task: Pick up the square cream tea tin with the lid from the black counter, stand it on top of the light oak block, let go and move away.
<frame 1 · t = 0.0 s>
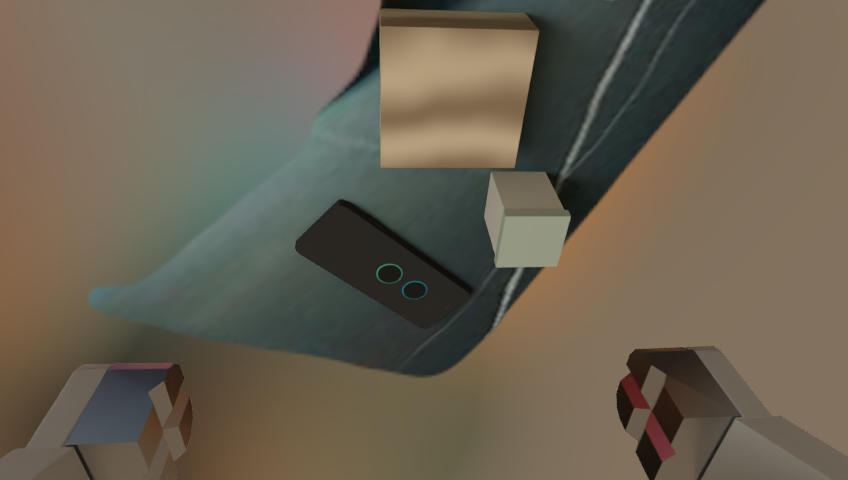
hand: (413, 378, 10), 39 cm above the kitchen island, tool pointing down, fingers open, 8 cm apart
oak block: (447, 80, 47), on the kitchen island
smart home device: (387, 263, 60), on the kitchen island
cream tea tin: (513, 194, 55), on the kitchen island
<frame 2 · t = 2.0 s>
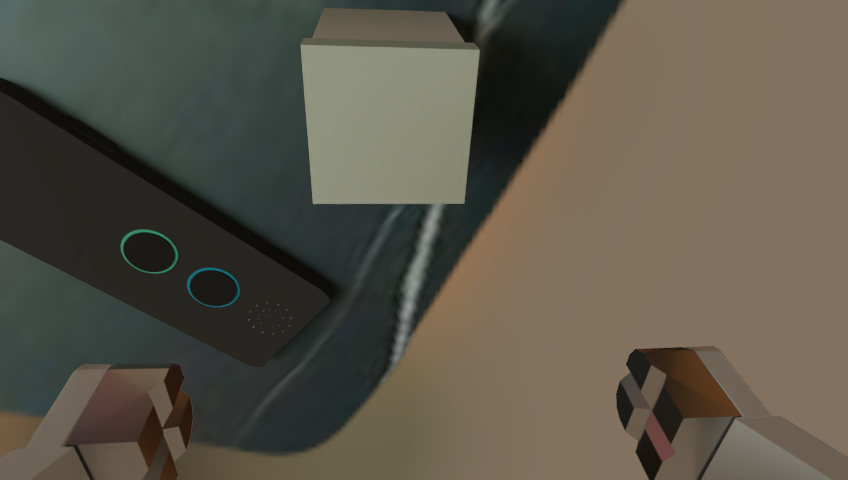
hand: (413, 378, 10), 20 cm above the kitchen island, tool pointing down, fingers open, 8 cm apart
smart home device: (157, 235, 31), on the kitchen island
cream tea tin: (385, 70, 26), on the kitchen island
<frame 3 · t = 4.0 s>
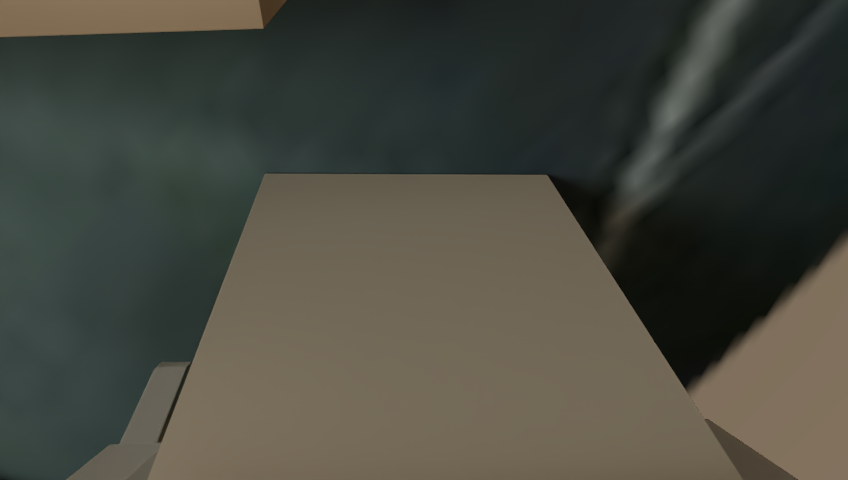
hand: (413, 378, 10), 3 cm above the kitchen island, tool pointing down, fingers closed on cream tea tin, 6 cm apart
cream tea tin: (405, 286, 12), on the kitchen island, touching gripper
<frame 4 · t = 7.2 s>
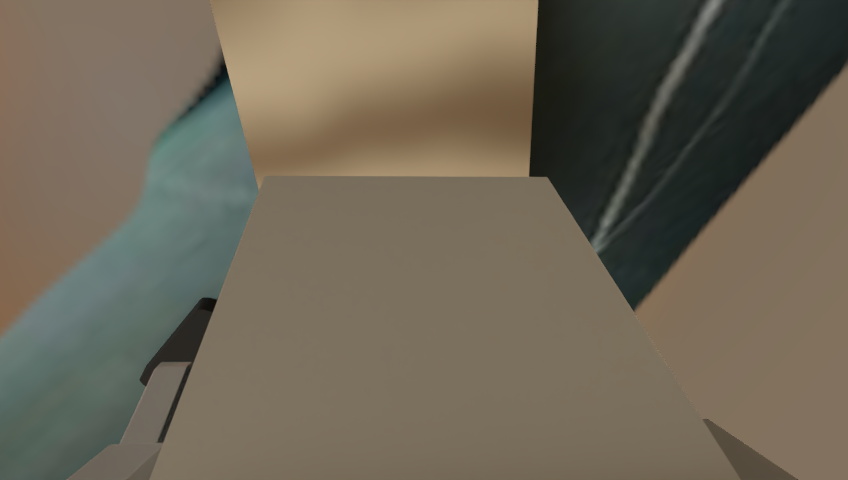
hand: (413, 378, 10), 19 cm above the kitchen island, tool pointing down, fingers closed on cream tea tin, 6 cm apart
oak block: (386, 82, 26), on the kitchen island
smart home device: (307, 389, 37), on the kitchen island
cream tea tin: (405, 288, 12), point 16 cm above the kitchen island, touching gripper
when the fingers open (8 cm above the kitchen island, at t = 10.4 s): cream tea tin drops 1 cm, point 5 cm above the kitchen island.
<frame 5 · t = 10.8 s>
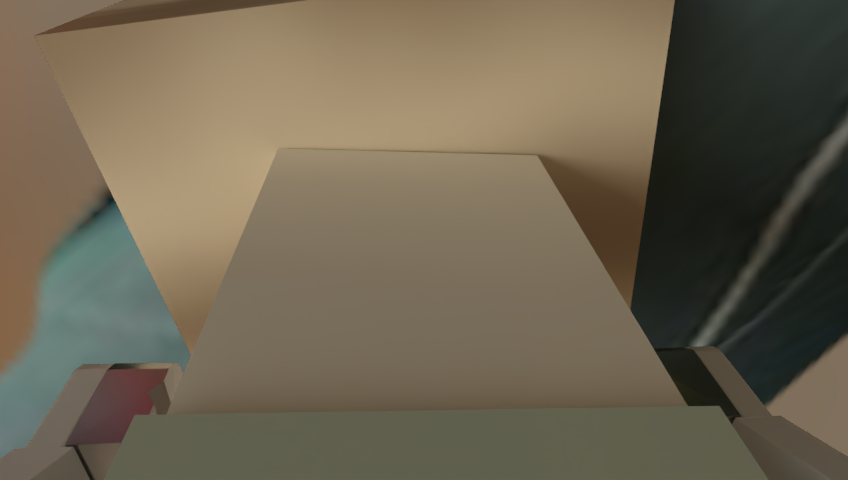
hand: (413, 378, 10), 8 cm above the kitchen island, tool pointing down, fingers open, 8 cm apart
oak block: (394, 170, 17), on the kitchen island
cream tea tin: (405, 258, 13), point 5 cm above the kitchen island
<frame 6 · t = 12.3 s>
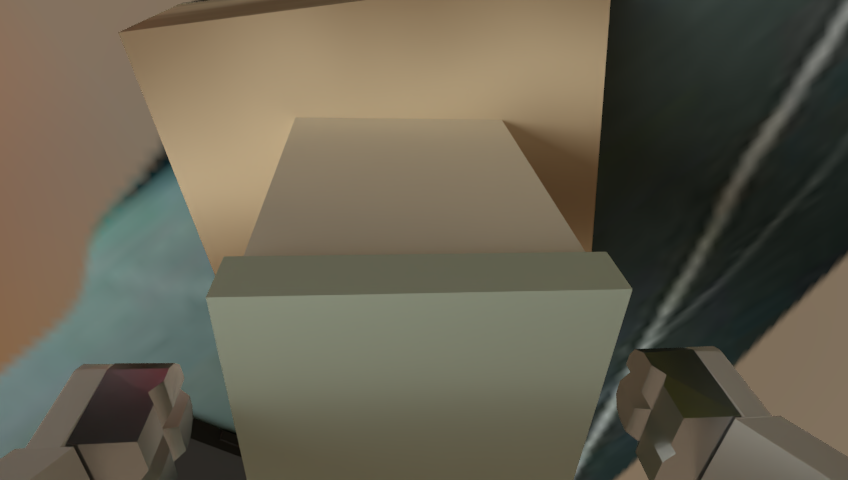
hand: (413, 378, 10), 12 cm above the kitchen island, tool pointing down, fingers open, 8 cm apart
oak block: (394, 151, 20), on the kitchen island
cream tea tin: (398, 209, 16), point 5 cm above the kitchen island
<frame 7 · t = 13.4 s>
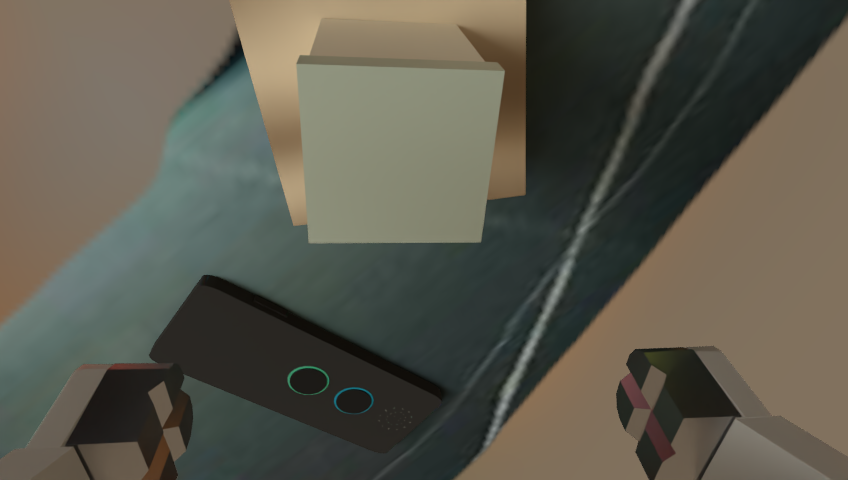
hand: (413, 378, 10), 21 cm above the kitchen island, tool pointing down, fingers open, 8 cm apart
oak block: (390, 66, 28), on the kitchen island, touching cream tea tin
smart home device: (308, 363, 39), on the kitchen island
cream tea tin: (388, 88, 23), point 5 cm above the kitchen island, touching oak block
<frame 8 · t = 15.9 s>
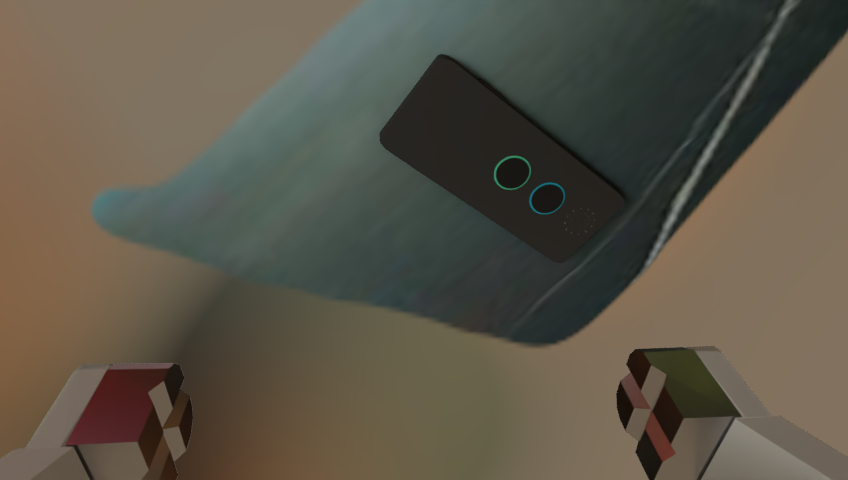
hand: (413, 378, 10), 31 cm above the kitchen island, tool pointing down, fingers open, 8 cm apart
smart home device: (504, 164, 43), on the kitchen island
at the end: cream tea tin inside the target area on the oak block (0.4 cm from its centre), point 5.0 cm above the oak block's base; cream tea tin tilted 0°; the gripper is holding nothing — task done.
